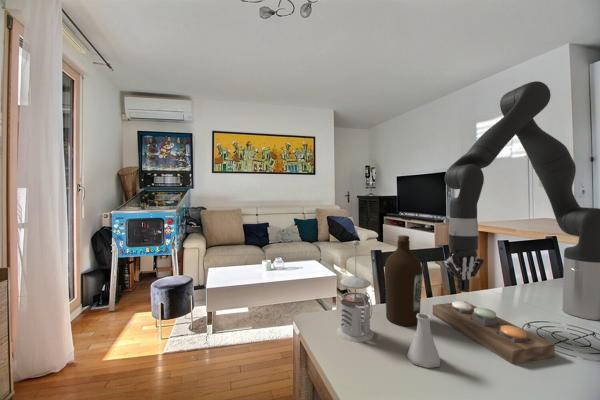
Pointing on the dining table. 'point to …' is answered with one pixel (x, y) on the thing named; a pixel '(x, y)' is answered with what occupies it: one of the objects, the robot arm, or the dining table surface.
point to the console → (496, 336)
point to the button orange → (513, 334)
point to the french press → (355, 309)
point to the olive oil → (403, 284)
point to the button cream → (461, 307)
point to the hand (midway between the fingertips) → (463, 291)
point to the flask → (423, 344)
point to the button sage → (485, 317)
